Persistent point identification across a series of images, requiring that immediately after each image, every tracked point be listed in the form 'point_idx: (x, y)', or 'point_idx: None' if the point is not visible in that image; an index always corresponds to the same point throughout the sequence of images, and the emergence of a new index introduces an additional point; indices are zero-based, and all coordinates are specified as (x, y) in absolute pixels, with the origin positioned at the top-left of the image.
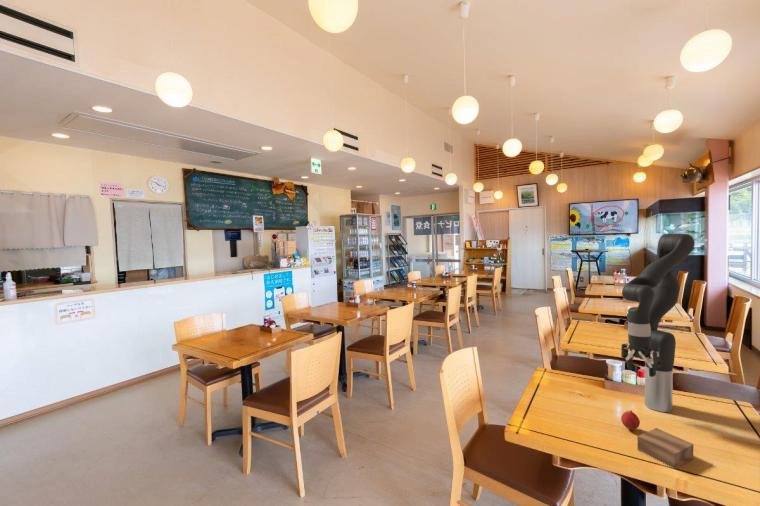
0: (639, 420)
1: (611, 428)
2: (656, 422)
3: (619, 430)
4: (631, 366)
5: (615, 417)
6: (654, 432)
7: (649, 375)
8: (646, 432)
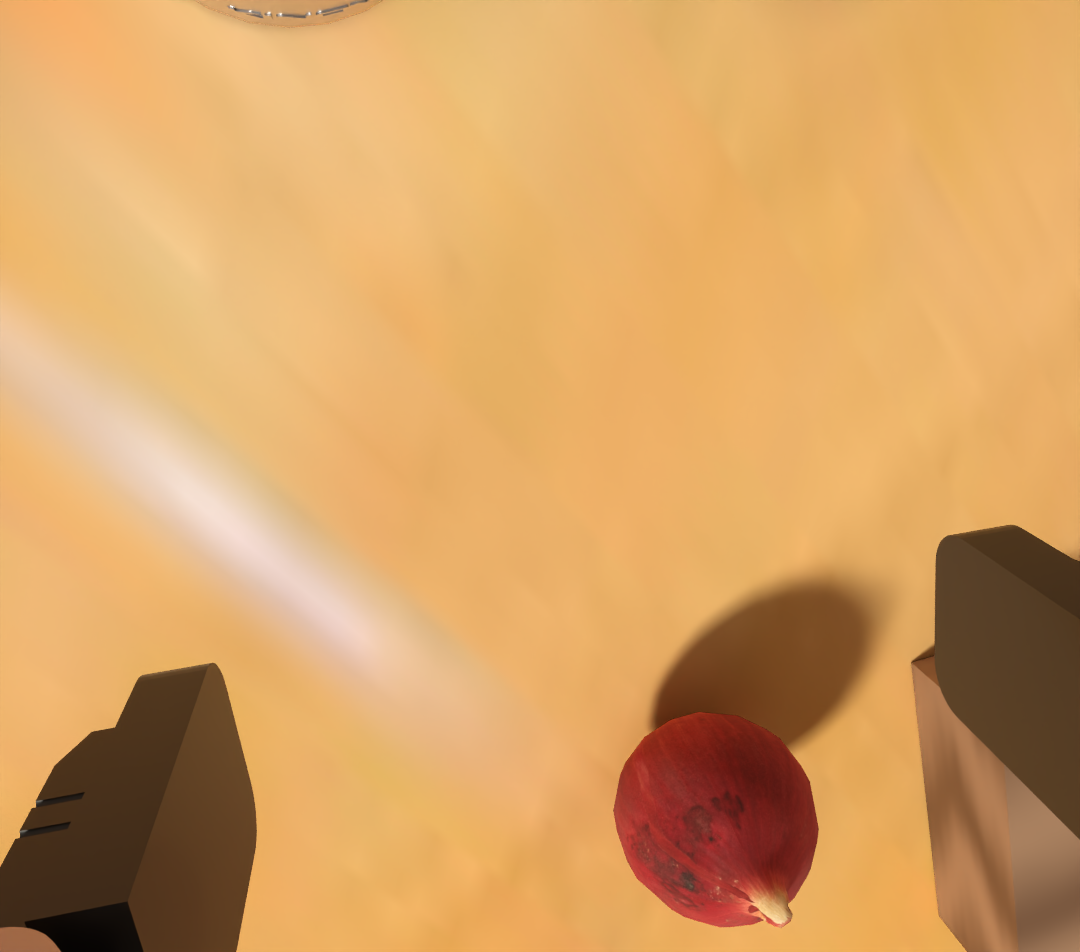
0: (792, 761)
1: (594, 901)
2: (640, 315)
3: None
4: (220, 811)
5: (405, 708)
6: (1050, 828)
7: (960, 710)
8: (1016, 901)
